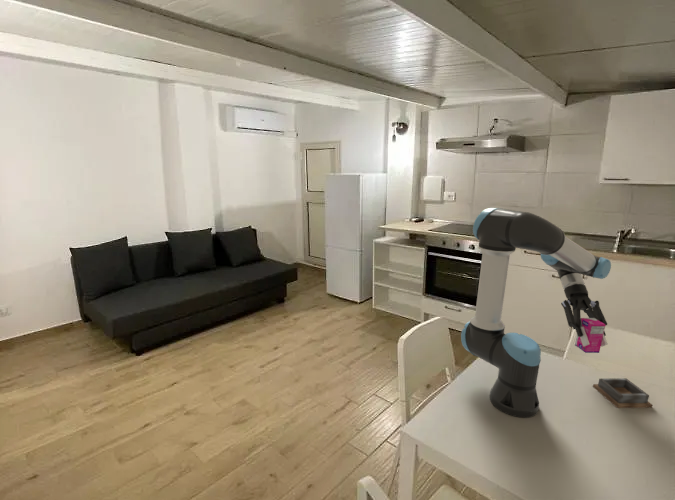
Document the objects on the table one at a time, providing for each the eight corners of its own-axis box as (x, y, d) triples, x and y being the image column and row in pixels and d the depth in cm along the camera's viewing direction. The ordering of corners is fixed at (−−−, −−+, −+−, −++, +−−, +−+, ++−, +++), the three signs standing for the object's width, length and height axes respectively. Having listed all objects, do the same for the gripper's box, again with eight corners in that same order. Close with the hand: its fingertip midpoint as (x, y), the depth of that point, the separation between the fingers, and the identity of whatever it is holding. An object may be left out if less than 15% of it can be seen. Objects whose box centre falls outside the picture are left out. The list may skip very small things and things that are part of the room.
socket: (617, 407, 127) (619, 397, 126) (592, 386, 138) (594, 376, 137) (652, 407, 127) (654, 397, 126) (624, 386, 139) (626, 376, 138)
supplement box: (573, 345, 143) (579, 317, 140) (588, 345, 143) (594, 317, 141) (584, 353, 137) (591, 324, 135) (599, 353, 138) (606, 324, 135)
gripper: (591, 291, 152) (614, 348, 140) (545, 291, 151) (564, 348, 139) (603, 283, 145) (628, 342, 133) (555, 282, 145) (575, 341, 132)
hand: (595, 345), depth 136 cm, fingers closed on supplement box, 6 cm apart
